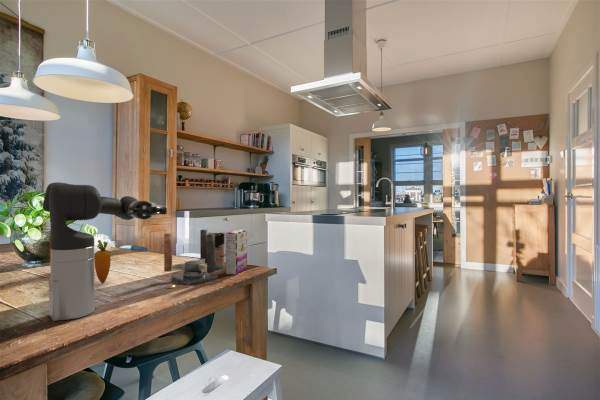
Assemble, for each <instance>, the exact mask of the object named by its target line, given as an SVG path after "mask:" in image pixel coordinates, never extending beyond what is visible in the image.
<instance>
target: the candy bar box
mask: <svg viewBox="0 0 600 400" xmlns="http://www.w3.org/2000/svg"><path fill="white" fill-rule="evenodd" d="M247 232H248V231H247V229H234V230H230V231H228V232H225V274H226V275H228V276H229V275H233V276H235V275H236V276H237V275H240V273H242V272H244V271H246V270H247V269H248V244H247V243H248V241H247V239H248V235H247V234H248V233H247Z"/></svg>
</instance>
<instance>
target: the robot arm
mask: <svg viewBox="0 0 600 400" xmlns="http://www.w3.org/2000/svg"><path fill="white" fill-rule="evenodd" d="M44 193H45V194H44V196H43V197H44V199H43V202H42V209H43V210H44V211H45V212H47V213H49V221H50V222H49V223H50V277H49V278H48V301H49V302H48V305H49V306H48V310H49V311H48V312H49V313H48V314H49V317H50V319H51V320H52V321H53V322H55V321H65V320H67V321H68V320H72V319H73V320H74V319H78V318H79V319H80V318H82V317H86V316H88V315H91V314H92V313H94V312H95V308H96V306H95V304H96V300H95V299H96V297H95V293H96V292H95V284H96V283H95V279H96V278H95V260H94V255H95V236H94V235H93V234H91V233H87V232H82V231H78V230H76V229H74V228H71V227H70V226H68V225H67V222H68V221H69V222H70V221H89V220H93V219H95V218H96V217H98V216H99V214H101V215H102V214H103V215H113V216H116V217H117V218H119V219H122V220H125V221H130V220H133V219H134V218H135V219H139V220H148V219H151V218H152V217H153V216H159V215H167V212H168V209H167V207H165V206H161V207H160V206H158V205H157V206H156V205H153V203H152V202H150V201H147V200H138V199H137V198H135V197H133V196H130V195H129V196H127V195H126V196H122V197H121V198H120V199H118V198H115V197H108V196H101V193H100V191H99V190H98V189H97V188H96V187H95V186H93V185H89V184H70V183H66V182H58V181H57V182H51V183H49V184H48V185H47V186H46V189H45V192H44Z"/></svg>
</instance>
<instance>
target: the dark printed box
mask: <svg viewBox="0 0 600 400" xmlns="http://www.w3.org/2000/svg"><path fill="white" fill-rule="evenodd" d="M225 233H226V232H225V231H223V230H212V231H207V235H208V234H215V270H221V269H225V257H226V240H225V239H226V238H225Z"/></svg>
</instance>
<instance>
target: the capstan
mask: <svg viewBox="0 0 600 400" xmlns="http://www.w3.org/2000/svg"><path fill="white" fill-rule="evenodd" d="M199 235H200V240H199V242H200V249H199V251H200V252H199V253H200V254H199V255H200V259H197V260H189V261H185V262H184V263H183V262H182V263H173V233H169V232H168V233H164V234H163V241H164V242H163V243H164V244H163V247H164V249H163V250H164V251H163V253H164V254H163V255H164V256H163V259H164V260H163V263H164V264H163V265H164V266H163V267H164V268H163V271H164V272H165V273H167V272H168V273H169V272H175V271H183V270H185V271H189V272H194V271H204V272H207V273H211V274H214V273H215V270H216V269H215V234H208V229H200V234H199Z"/></svg>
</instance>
